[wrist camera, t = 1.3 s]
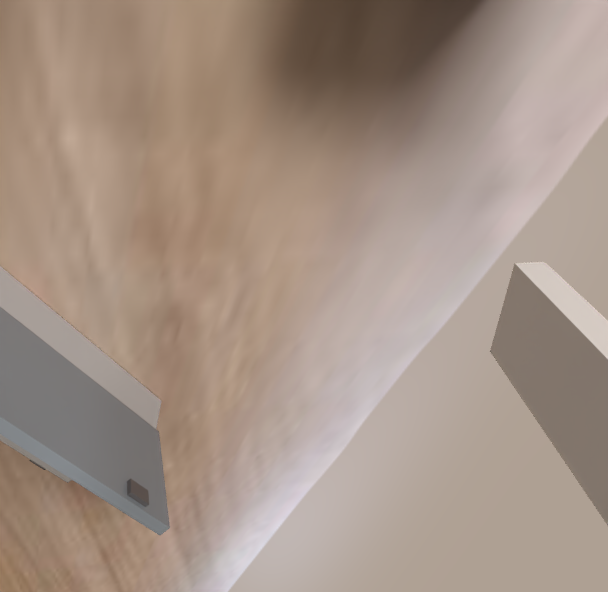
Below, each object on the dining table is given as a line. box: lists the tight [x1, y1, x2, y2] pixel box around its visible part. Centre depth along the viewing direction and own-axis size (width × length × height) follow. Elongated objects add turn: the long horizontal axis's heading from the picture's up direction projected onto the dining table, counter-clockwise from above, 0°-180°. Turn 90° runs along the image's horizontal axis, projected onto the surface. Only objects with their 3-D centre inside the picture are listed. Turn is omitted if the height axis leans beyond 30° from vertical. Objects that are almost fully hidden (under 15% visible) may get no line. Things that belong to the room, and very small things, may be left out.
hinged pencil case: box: [0, 266, 161, 483], centre depth 38 cm, size 22×10×4 cm, turn 33°
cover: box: [0, 307, 170, 535], centre depth 31 cm, size 22×10×1 cm
